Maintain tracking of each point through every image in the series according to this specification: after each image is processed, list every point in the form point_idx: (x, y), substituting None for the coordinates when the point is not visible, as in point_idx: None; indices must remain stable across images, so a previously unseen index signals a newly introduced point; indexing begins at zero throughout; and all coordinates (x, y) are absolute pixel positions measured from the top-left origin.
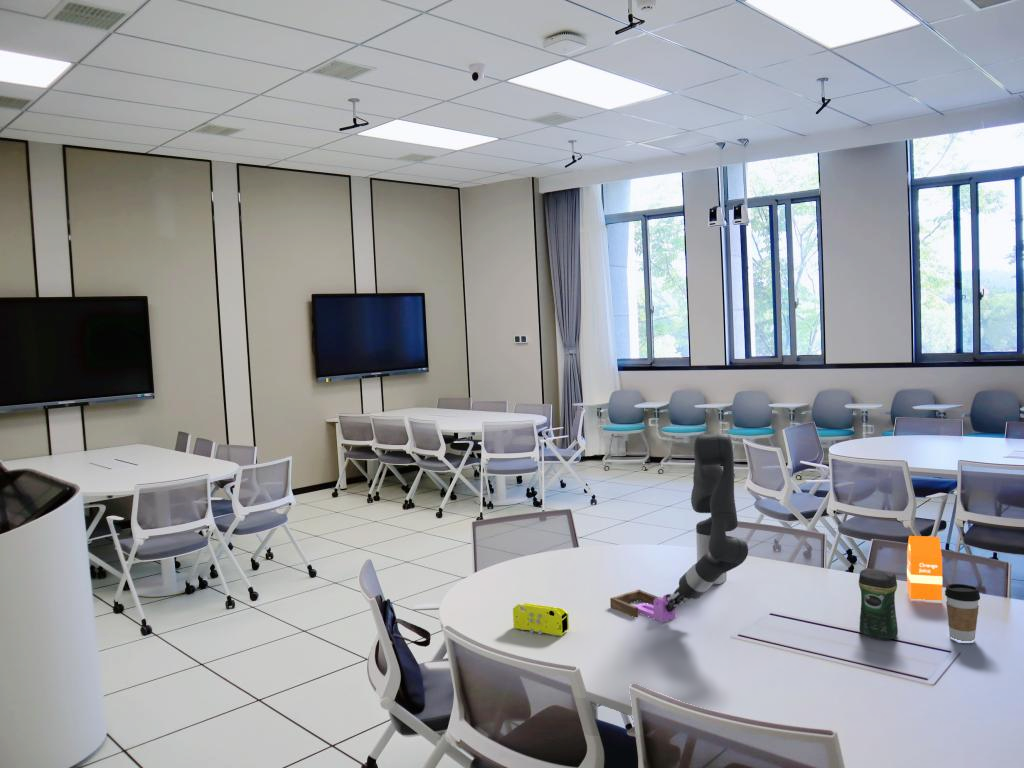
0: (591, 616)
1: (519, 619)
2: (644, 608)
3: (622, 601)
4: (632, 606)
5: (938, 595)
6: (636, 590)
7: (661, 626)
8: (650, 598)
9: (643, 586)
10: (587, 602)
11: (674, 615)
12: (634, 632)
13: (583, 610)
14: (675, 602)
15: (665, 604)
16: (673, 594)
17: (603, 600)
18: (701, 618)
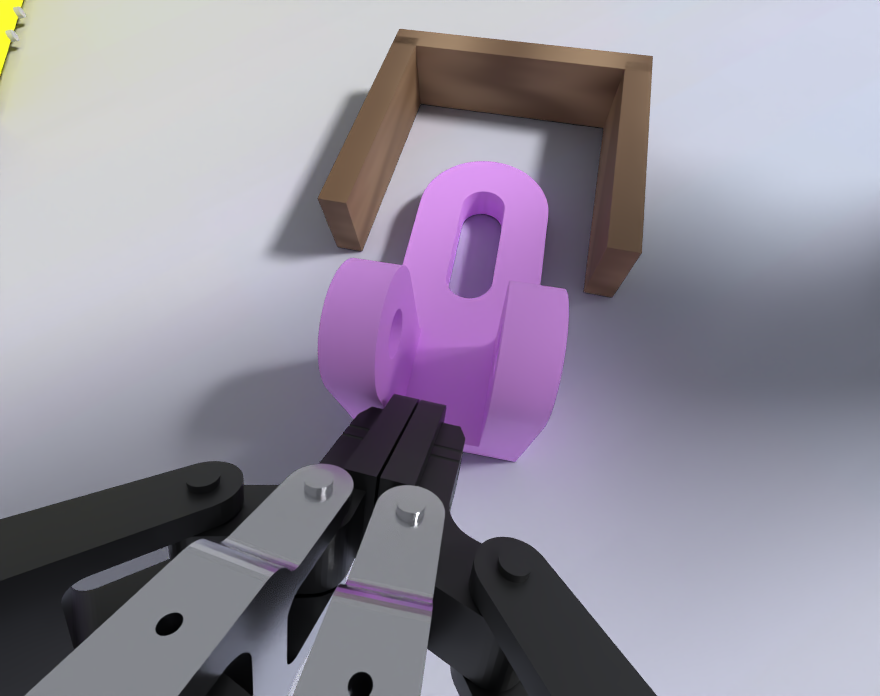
0: (239, 90)
1: None
2: (450, 223)
3: (392, 90)
4: (345, 169)
5: None
6: (625, 55)
7: (285, 468)
8: (609, 168)
9: (795, 50)
10: (397, 5)
11: (505, 455)
12: (94, 370)
13: (295, 37)
14: (306, 578)
15: (373, 396)
16: (147, 598)
17: (467, 30)
18: (678, 693)
